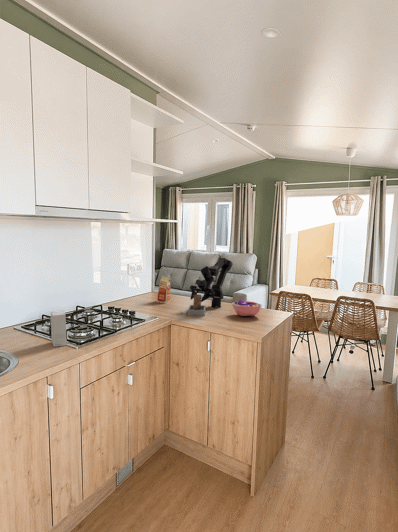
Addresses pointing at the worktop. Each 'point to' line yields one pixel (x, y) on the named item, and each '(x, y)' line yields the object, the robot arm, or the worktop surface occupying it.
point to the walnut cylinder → (197, 302)
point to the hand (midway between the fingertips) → (195, 300)
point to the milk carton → (164, 290)
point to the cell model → (246, 308)
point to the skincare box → (58, 328)
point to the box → (196, 311)
